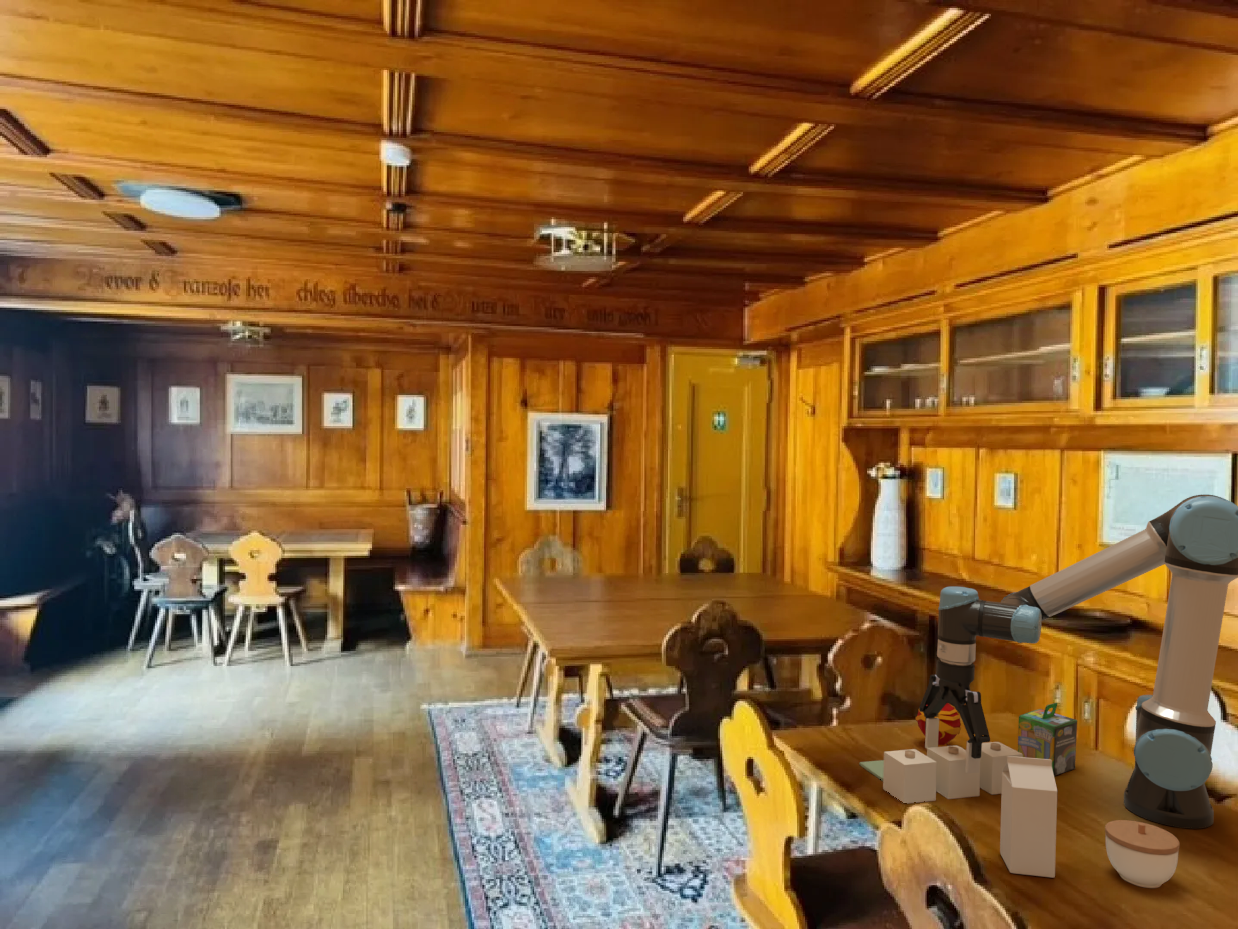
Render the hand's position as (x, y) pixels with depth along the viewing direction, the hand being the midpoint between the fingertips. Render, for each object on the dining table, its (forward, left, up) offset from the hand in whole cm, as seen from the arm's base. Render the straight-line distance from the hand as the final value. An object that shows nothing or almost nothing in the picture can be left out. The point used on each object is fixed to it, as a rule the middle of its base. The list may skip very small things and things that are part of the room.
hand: (951, 759), depth 178 cm
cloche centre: (0, 0, -6) cm, 6 cm away
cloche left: (0, +10, -6) cm, 12 cm away
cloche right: (0, -11, -6) cm, 13 cm away
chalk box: (+7, -30, -7) cm, 32 cm away
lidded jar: (-39, -8, -7) cm, 41 cm away
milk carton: (-31, +8, -7) cm, 33 cm away
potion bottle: (+23, -13, -7) cm, 27 cm away
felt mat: (+11, 0, -6) cm, 12 cm away
